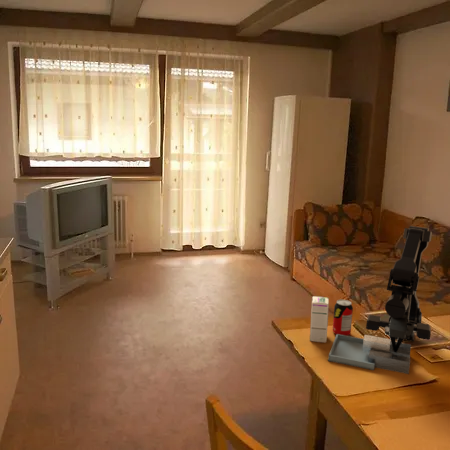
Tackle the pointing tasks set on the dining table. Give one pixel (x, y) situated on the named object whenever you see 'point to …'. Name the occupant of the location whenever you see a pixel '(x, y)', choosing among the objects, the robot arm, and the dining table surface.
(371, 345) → the brushed metal cube
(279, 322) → the dining table surface
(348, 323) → the beverage can
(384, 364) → the slot plate
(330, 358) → the tray
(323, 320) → the syrup box
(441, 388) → the dining table surface
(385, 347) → the grey cubic piece
